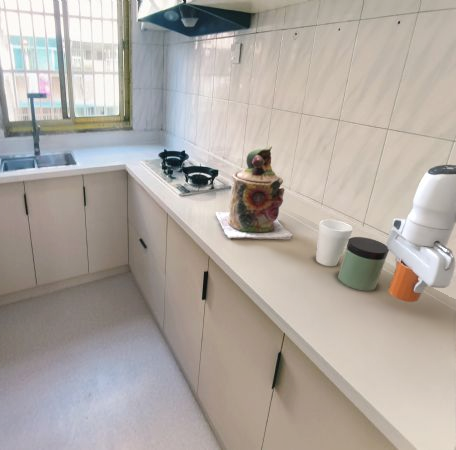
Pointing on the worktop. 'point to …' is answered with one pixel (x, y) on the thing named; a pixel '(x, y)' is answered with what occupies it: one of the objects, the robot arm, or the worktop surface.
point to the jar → (360, 271)
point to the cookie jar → (255, 201)
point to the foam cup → (332, 241)
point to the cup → (404, 283)
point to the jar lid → (367, 248)
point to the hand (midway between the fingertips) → (407, 282)
